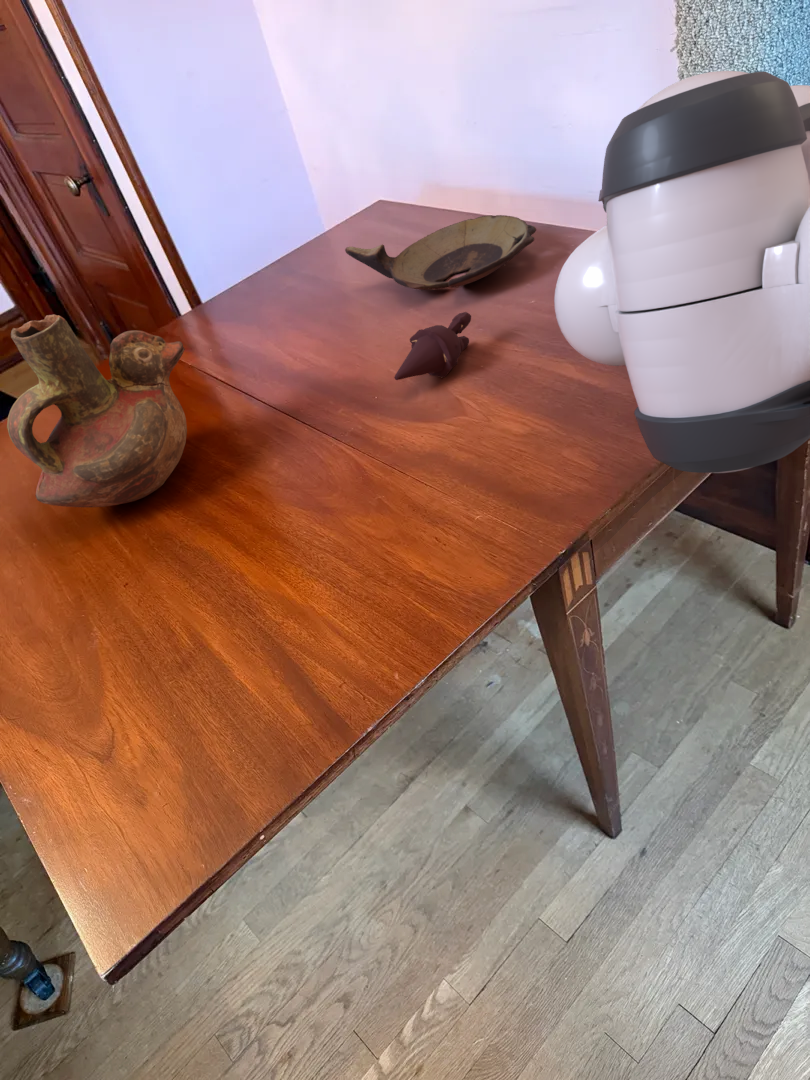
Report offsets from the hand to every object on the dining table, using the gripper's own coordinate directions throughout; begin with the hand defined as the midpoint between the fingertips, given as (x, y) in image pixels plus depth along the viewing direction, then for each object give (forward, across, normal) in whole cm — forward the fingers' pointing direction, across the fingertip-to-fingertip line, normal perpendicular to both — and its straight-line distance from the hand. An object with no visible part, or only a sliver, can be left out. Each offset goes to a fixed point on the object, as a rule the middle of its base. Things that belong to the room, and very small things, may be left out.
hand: (643, 204), depth 95 cm
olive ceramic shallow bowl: (+34, +7, +13) cm, 37 cm away
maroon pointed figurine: (+12, +28, +13) cm, 33 cm away
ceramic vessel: (+29, +67, +13) cm, 74 cm away
